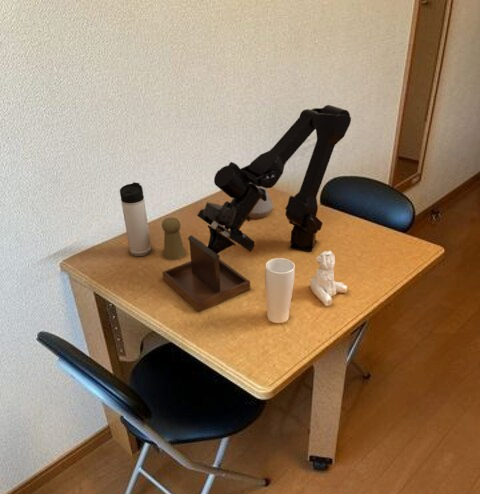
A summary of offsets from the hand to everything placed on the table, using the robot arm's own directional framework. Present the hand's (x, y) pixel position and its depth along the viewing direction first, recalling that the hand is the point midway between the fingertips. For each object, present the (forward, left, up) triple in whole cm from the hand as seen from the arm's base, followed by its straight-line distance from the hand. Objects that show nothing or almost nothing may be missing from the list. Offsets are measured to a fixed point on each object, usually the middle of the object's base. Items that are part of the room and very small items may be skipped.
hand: (207, 257), depth 128 cm
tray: (0, +1, -8) cm, 8 cm away
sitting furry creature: (-30, -7, -8) cm, 32 cm away
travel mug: (+26, -9, -8) cm, 29 cm away
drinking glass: (-22, +7, -8) cm, 25 cm away
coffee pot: (+4, -39, -8) cm, 40 cm away
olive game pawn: (+16, -11, -8) cm, 21 cm away
